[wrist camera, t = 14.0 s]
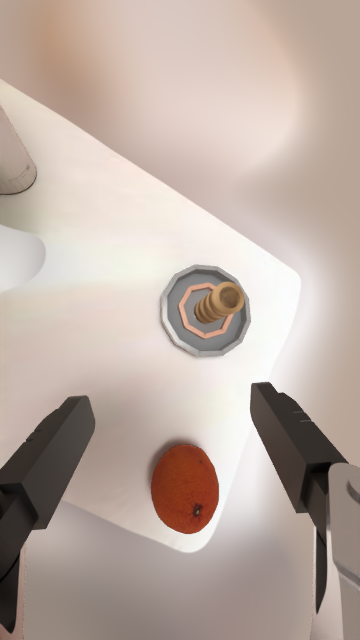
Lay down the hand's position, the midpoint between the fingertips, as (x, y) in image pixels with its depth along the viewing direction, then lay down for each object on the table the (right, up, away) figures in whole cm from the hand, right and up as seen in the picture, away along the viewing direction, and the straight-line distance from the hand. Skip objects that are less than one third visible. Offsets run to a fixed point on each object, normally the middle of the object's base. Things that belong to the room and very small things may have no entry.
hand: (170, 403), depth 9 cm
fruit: (0, -19, +19) cm, 27 cm away
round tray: (+5, +6, +24) cm, 25 cm away
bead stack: (+5, +6, +23) cm, 25 cm away
